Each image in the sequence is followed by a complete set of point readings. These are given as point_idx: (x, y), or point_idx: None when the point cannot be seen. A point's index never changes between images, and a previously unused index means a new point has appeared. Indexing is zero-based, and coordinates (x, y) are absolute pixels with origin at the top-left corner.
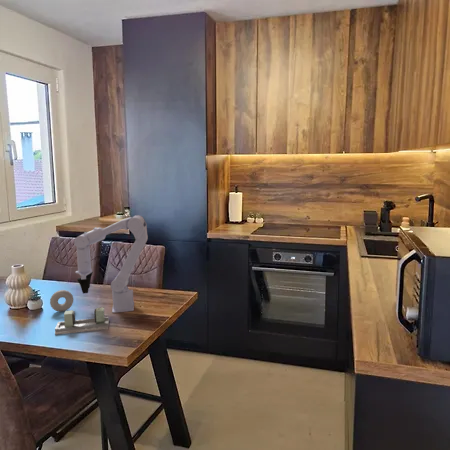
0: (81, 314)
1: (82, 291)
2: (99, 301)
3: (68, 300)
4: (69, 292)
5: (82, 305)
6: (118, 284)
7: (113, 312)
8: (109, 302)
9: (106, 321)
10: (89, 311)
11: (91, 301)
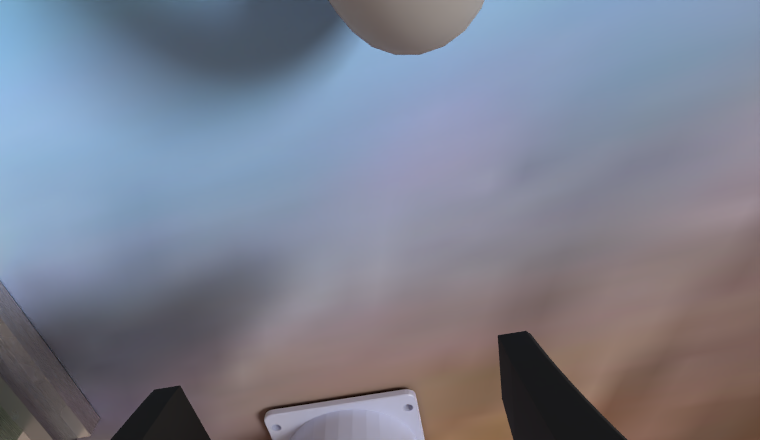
0: (225, 170)
1: (125, 426)
2: (623, 245)
3: None
4: (400, 5)
5: (540, 91)
6: None
7: (265, 420)
8: (556, 336)
9: (23, 434)
10: (318, 226)
11: (660, 161)
